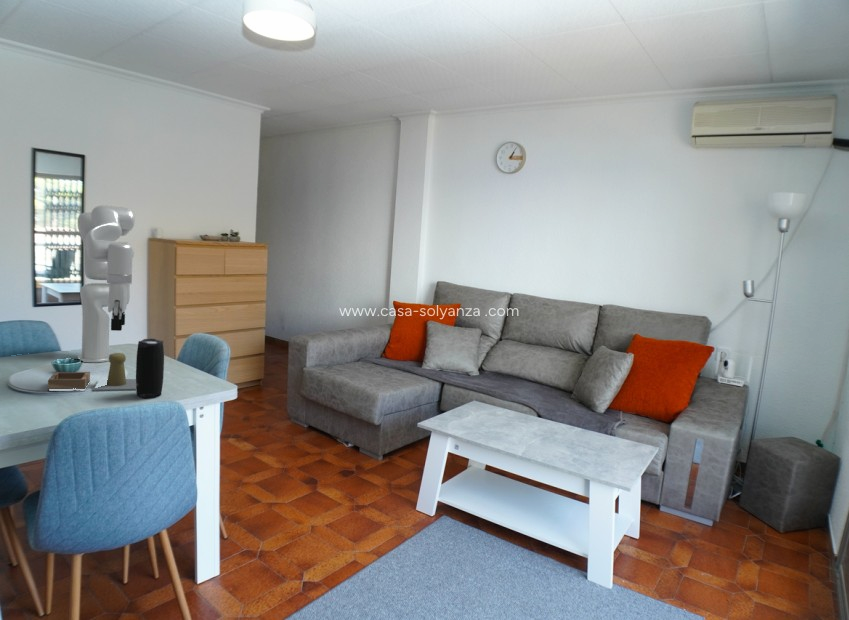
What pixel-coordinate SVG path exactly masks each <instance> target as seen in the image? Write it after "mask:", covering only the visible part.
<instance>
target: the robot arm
mask: <svg viewBox="0 0 849 620" xmlns="http://www.w3.org/2000/svg"><path fill="white" fill-rule="evenodd" d="M135 224H136V223H135V215H134V212H133V211H132V210H131V209H130V208H128V207H123V206H112V205H98V206H95V207H94V208H93V209H92V210H91V211H90V212H82V213H80V214H79V215H78V217H77V227H78V232H79V235H80V238H81V241H82V243H83V249H84V250H83V251H84V252H83V254H84V255H83V258H84V259H83V261H84V262H83V264H84V275H85V277H86V279H89V280H93V281H106V282H105V283H103V282H102V283H101V282H100V283H99V282H98V283H97V282H91V283H86V284H84V285H82V287H81V288H80V292H79V295H80V302H81V308H82V309H81V313H82V314H81V315H82V322H81V323H82V325H81V326H82V327H81V330H82V331H81V332H82V333H81V335H82V336H81V337H82V338H81V354H80V355H78V356H77V357H78V358H80V359H81V360H82V361H83V363H105V362H110V361H109V356H110V355H111V353H110V350H109V349H110V331H112V332H113V331H114V332H115V331H118V332H120V331H122V330H123V329H122V328H123V326H125V324H126V313H125V312H126V309H127V305H128V304H129V302H130V297H131V296H130V295H131V294H130V293H131V292H130V291H131V290H130V285H132V281H133V279H132V278H133V258H134V254H135V251H134V247H133V246H132V244H131V243H129V242H125V241H117V240H119V239H120V238H121V237H123V236H127V235H128V234H129V233H130V232H131V231H132V230H133V228H134V226H135ZM106 307H107V312H108V313H111V319H110V316H109V314H108V313H107V312H106V310H105V309H103V308H106Z"/></svg>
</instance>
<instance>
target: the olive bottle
mask: <svg viewBox="0 0 849 620" xmlns="http://www.w3.org/2000/svg"><path fill="white" fill-rule="evenodd" d="M126 358H127V357H126V354H124V353H121V352H114V353H110V356H109V361H108V362H109V363H110V364H109V370H108V375H107V379H108V380H107V385H109V386H122V385H125V384H126V379H127V378H126V371H125V362H126V361H127V359H126Z"/></svg>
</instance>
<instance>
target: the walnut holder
mask: <svg viewBox="0 0 849 620" xmlns="http://www.w3.org/2000/svg"><path fill="white" fill-rule="evenodd" d="M89 382H90V383H91V372H90V371H72V372H71V371H68V372H66V371H65V372H63V371H62V372H60V371H59V372H58V371H57V372H54V373H53V374H52V375H50V377H49V378H48V380H47V390H48V389H73V388H74V389H75V388H76V389H85V388H86V386H87V385H88V383H89ZM90 383H89V384H90ZM88 386H89V385H88ZM86 389H87V388H86Z"/></svg>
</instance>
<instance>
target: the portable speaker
mask: <svg viewBox="0 0 849 620" xmlns="http://www.w3.org/2000/svg"><path fill="white" fill-rule="evenodd" d="M164 347H165V346H164V340H158V339H156V338H144V339H142V340H138V342H137V351H136V361H135V363H136V365H135V379H136V390H135V391H136V396H140V397H141V398H142V399H155V397H157V396H158V395H159V396H162V392H163V384H164V372H165V369H164V368H165V367H164V366H165V351H164V350H165V349H164Z"/></svg>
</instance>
